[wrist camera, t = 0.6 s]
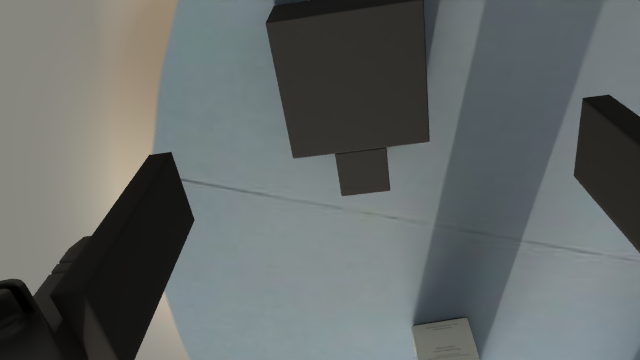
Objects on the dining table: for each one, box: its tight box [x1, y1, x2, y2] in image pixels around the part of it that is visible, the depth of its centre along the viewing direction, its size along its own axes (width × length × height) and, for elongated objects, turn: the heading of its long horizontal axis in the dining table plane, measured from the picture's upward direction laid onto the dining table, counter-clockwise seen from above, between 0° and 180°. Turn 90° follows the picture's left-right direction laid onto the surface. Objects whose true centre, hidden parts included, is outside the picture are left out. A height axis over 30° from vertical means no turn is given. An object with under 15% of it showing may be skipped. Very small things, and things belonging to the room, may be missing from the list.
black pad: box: [266, 0, 429, 196], centre depth 29 cm, size 8×11×4 cm
